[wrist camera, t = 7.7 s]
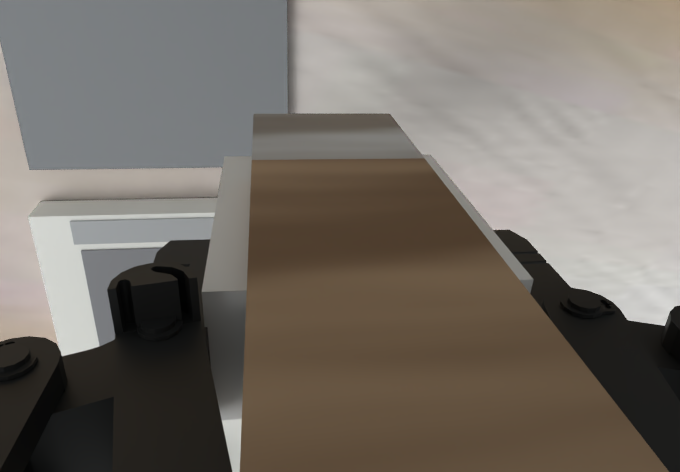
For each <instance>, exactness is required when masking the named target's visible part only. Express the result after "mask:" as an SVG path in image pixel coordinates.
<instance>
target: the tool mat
mask: <svg viewBox="0 0 680 472" xmlns="http://www.w3.org/2000/svg"><path fill="white" fill-rule="evenodd" d="M0 42H1V47H2V51H3V56H4V60H5V64H6V69H7V73H8V78H9V82H10V86H11V91H12V95H13V99H14V104H15V108H16V113H17V117H18V121H19V126H20V130H21V135H22V139H23V143H24V148H25V152H26V156H27V161H28V165H29V170H57V169H132V168H207V167H223V162H224V156H252V138H253V114H288V58H287V0H0Z"/></svg>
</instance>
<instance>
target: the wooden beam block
mask: <svg viewBox="0 0 680 472" xmlns="http://www.w3.org/2000/svg"><path fill="white" fill-rule="evenodd" d="M240 472H669V471H668V470H667V468H666V467H665V466H664V465H663V463H662V462H661V461H660V459H659V458H658V457H657V456H656V454H655V453H654V452H653V450H652V449H651V448H650V447H649V445H648V444H647V443H646V441H645V440H644V439H643V438H642V436H641V435H640V434H639V432H638V431H637V430H636V429H635V427H634V426H633V425H632V424H631V422H630V421H629V420H628V418H627V417H626V416H625V415H624V413H623V412H622V411H621V409H620V408H619V407H618V406H617V404H616V403H615V402H614V400H613V399H612V398H611V397H610V395H609V394H608V393H607V391H606V390H605V389H604V388H603V386H602V385H601V384H600V383H599V381H598V380H597V379H596V377H595V376H594V375H593V374H592V372H591V371H590V370H589V368H588V367H587V366H586V365H585V363H584V362H583V361H582V359H581V358H580V357H579V356H578V354H577V353H576V352H575V350H574V349H573V348H572V347H571V345H570V344H569V343H568V341H567V340H566V339H565V338H564V336H563V335H562V334H561V333H560V331H559V330H558V329H557V327H556V326H555V325H554V324H553V322H552V321H551V320H550V318H549V317H548V316H547V315H546V313H545V312H544V311H543V309H542V308H541V307H540V306H539V304H538V303H537V302H536V300H535V299H534V298H533V297H532V295H531V294H530V293H529V292H528V290H527V289H526V288H525V286H524V285H523V284H522V283H521V281H520V280H519V279H518V277H517V276H516V275H515V274H514V272H513V271H512V270H511V268H510V267H509V266H508V265H507V263H506V262H505V261H504V259H503V258H502V257H501V256H500V254H499V253H498V252H497V251H496V249H495V248H494V247H493V245H492V244H491V243H490V242H489V240H488V239H487V238H486V236H485V235H484V234H483V233H482V231H481V230H480V229H479V227H478V226H477V225H476V224H475V222H474V221H473V220H472V218H471V217H470V216H469V215H468V213H467V212H466V211H465V209H464V208H463V207H462V206H461V204H460V203H459V202H458V201H457V199H456V198H455V197H454V195H453V194H452V193H451V192H450V190H449V189H448V188H447V186H446V185H445V184H444V183H443V181H442V180H441V179H440V177H439V176H438V175H437V174H436V172H435V171H434V170H433V168H432V167H431V166H430V165H429V163H428V162H427V161H426V160H425V158H424V157H423V156H422V154H421V153H420V152H419V151H418V149H417V148H416V147H415V145H414V144H413V143H412V142H411V140H410V139H409V138H408V136H407V135H406V134H405V133H404V131H403V130H402V129H401V127H400V126H399V125H398V124H397V122H396V121H395V120H394V119H393V117H392V116H391V115H390V114H253V138H252V164H251V190H250V216H249V243H248V269H247V295H246V321H245V347H244V373H243V399H242V425H241V451H240Z"/></svg>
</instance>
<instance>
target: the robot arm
mask: <svg viewBox="0 0 680 472" xmlns="http://www.w3.org/2000/svg"><path fill="white" fill-rule="evenodd" d="M422 156H423V157H424V158H425V160H426V161H427V162H428V163H429V165H430V166H431V167H432V168H433V170H434V171H435V172H436V174H437V175H438V176H439V177H440V179H441V180H442V181H443V183H444V184H445V185H446V186H447V188H448V189H449V190H450V192H451V193H452V194H453V195H454V197H455V198H456V199H457V201H458V202H459V203H460V204H461V206H462V207H463V208H464V209H465V211H466V212H467V213H468V215H469V216H470V217H471V218H472V220H473V221H474V222H475V224H476V225H477V226H478V227H479V229H480V230H481V231H482V233H483V234H484V235H485V236H486V238H487V239H488V240H489V242H490V243H491V244H492V245H493V247H494V248H495V249H496V251H497V252H498V253H499V254H500V256H501V257H502V258H503V259H504V261H505V262H506V263H507V265H508V266H509V267H510V268H511V270H512V271H513V272H514V274H515V275H516V276H517V277H518V279H519V280H520V281H521V283H522V284H523V285H524V286H525V288H526V289H527V290H528V292H529V293H530V294H531V295H532V297H533V298H534V299H535V300H536V302H537V303H538V304H539V306H540V307H541V308H542V309H543V311H544V312H545V313H546V315H547V316H548V317H549V318H550V320H551V321H552V322H553V324H554V325H555V326H556V327H557V329H558V330H559V331H560V333H561V334H562V335H563V336H564V338H565V339H566V340H567V341H568V343H569V344H570V345H571V347H572V348H573V349H574V350H575V352H576V353H577V354H578V356H579V357H580V358H581V359H582V361H583V362H584V363H585V365H586V366H587V367H588V368H589V370H590V371H591V372H592V374H593V375H594V376H595V377H596V379H597V380H598V381H599V383H600V384H601V385H602V386H603V388H604V389H605V390H606V391H607V393H608V394H609V395H610V397H611V398H612V399H613V400H614V402H615V403H616V404H617V406H618V407H619V408H620V409H621V411H622V412H623V413H624V415H625V416H626V417H627V418H628V420H629V421H630V422H631V424H632V425H633V426H634V427H635V429H636V430H637V431H638V432H639V434H640V435H641V436H642V438H643V439H644V440H645V441H646V443H647V444H648V445H649V447H650V448H651V449H652V450H653V452H654V453H655V454H656V456H657V457H658V458H659V459H660V461H661V462H662V463H663V465H664V466H665V467H666V468H667V470H668V471H669V472H680V306H676V307H674V308H673V309H672V310H671V311H670V314H669V316H668V319H667V322H666V325H665V326H661V325H654V324H648V323H641V322H634V321H628V320H627V319H626V318H625V316H624V315H623V313H622V312H621V310H620V309H619V308H618V307H617V306H616V305H615V304H614V303H613V302H611V301H610V300H608V299H606V298H604V297H603V296H601V295H598V294H595V293H593V292H590V291H587V290H581V289H575V288H571V287H570V286H569V285H568V284H567V283H566V282H565V281H564V280H563V279H562V278H561V276H560V275H559V274H558V273H557V272H556V271H555V270H554V269H553V268H552V267H551V266H550V264H549V263H546V260H545V259H544V258H543V257H542V256H541V255H540V254H538V253H537V252H538V251H537V250H536V249H535V248H534V247H533V246H532V245H531V244H530V243H529V241H528V240H526V239H525V238H523V237H521V236H519V235H517V234H516V233H514V232H512V231H510V230H492V228H491V227H490V226H489V225H488V224H487V222H486V221H485V220H484V219H483V218H482V216H481V215H480V214H479V213H478V211H477V210H476V209H475V208H474V207H473V205H472V204H471V203H470V202H469V201H468V199H467V198H466V197H465V196H464V195H463V193H462V192H461V191H460V190H459V188H458V187H457V186H456V185H455V184H454V182H453V181H452V180H451V179H450V178H449V176H448V175H447V174H446V173H445V172H444V170H443V169H442V168H441V167H440V165H439V164H438V163H437V162H436V161H435V159H434V158H433V157H432V156H431V155H422ZM251 164H252V156H224V162H223V168H222V174H221V180H220V186H219V192H218V197H217V203H216V209H215V215H214V221H213V227H212V233H211V239H204V240H170V241H169V242H168V243H167V244H166V245H165V246H163V247H162V248H161V249H160V250H159V251H158V252H157V253H156V256H155V259H154V262H153V263H149V264H144V265H140V266H135V267H133V268H130V269H128V270H126V271H123V272H121V273H120V274H119V275H117V276H116V277H115V278H114V279H112V280H111V282H110V284H109V286H108V289H107V292H108V298H109V303H110V309H111V314H112V320H113V326H114V331H115V339H114V340H113V341H110V342H108V343H106V344H104V345H102V346H99V347H96V348H93V349H89V350H86V351H82V352H78V353H74V354H69V355H65V356H62V355H61V351H60V350H59V348H58V346H57V344H56V343H54V342H52V341H50V340H48V339H46V338H41V337H30V336H28V337H20V338H12V339H8V340H4V341H1V342H0V472H232V467H231V462H230V458H229V453H228V448H227V443H226V438H225V434H224V429H223V424H222V420H235V419H242V399H243V373H244V347H245V321H246V295H247V269H248V243H249V216H250V190H251Z"/></svg>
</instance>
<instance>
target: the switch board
mask: <svg viewBox="0 0 680 472" xmlns="http://www.w3.org/2000/svg"><path fill="white" fill-rule="evenodd" d="M216 203H217V198H175V199H126V200H77V201H41V202H40V203H39V204H38V205H37V207H36V208H35V209H34V210H33V211H32V213H31V214H30V215H29V216H28V219H29V224H30V228H31V232H32V236H33V240H34V245H35V249H36V253H37V257H38V261H39V265H40V270H41V274H42V278H43V282H44V286H45V291H46V295H47V299H48V303H49V307H50V311H51V316H52V320H53V324H54V328H55V332H56V337H57V341H58V345H59V349H60V351H61V355H62V356H65V355H69V354H74V353H78V352H82V351H86V350H89V349H93V348H96V347H99V346H102V345H104V344H106V343H108V342H110V341H113V340H114V339H115V331H114V326H113V320H112V314H111V309H110V303H109V298H108V292H107V289H108V286H109V284H110V282H111V280H112V279H114V278H115V277H116V276H117V275H119V274H120V273H121V272H123V271H126V270H128V269H130V268H133V267H135V266H140V265H144V264H149V263H153V262H154V259H155V256H156V253H157V252H158V251H159V250H160V249H161V248H162V247H163V246H165V245H166V244H167V243H168V242H169V241H170V240H204V239H211V233H212V227H213V221H214V215H215V209H216ZM222 424H223V429H224V434H225V438H226V443H227V448H228V453H229V458H230V462H231V467H232V472H240V451H241V425H242V419H235V420H222Z"/></svg>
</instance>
